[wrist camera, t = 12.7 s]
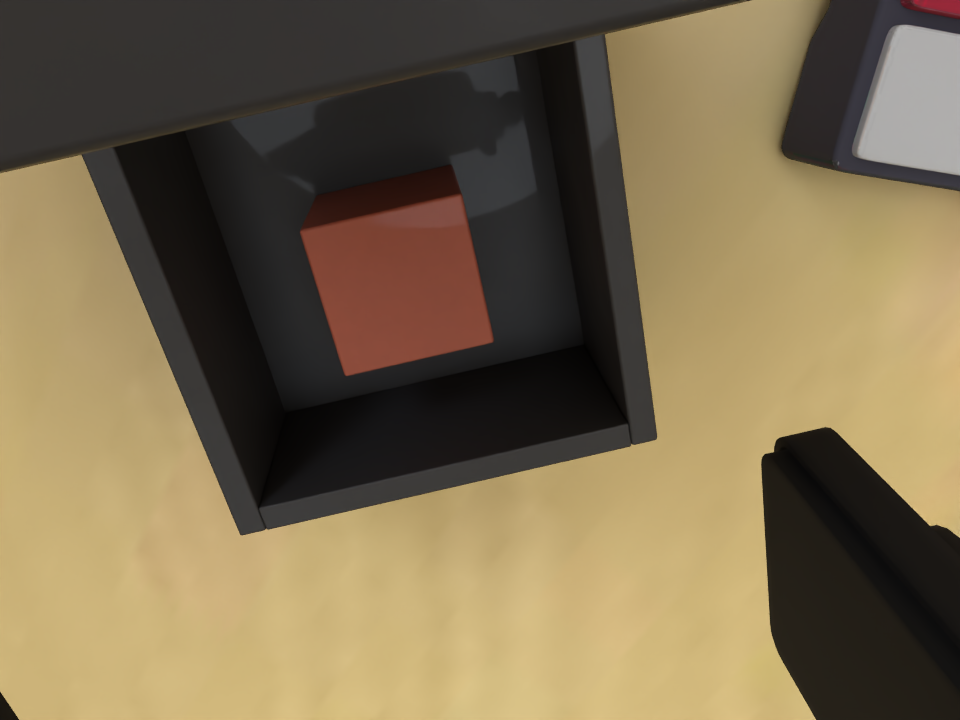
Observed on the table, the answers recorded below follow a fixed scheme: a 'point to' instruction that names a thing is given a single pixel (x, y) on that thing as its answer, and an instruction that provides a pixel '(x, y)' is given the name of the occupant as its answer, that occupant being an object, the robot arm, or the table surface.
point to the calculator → (882, 92)
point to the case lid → (250, 57)
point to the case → (300, 314)
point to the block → (397, 270)
